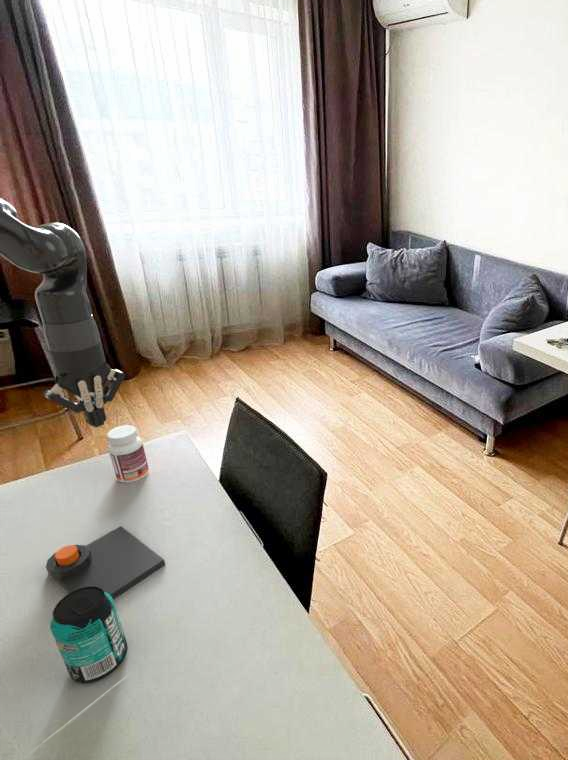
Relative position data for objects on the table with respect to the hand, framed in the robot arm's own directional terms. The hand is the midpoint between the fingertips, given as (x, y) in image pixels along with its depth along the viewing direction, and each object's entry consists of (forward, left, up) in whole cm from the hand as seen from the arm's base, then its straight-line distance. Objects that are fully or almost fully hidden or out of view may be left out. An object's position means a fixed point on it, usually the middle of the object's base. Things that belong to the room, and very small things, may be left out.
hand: (97, 424), depth 94 cm
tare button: (+12, -14, -15) cm, 24 cm away
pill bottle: (-5, +6, -18) cm, 20 cm away
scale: (+17, -10, -18) cm, 27 cm away
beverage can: (+33, -19, -18) cm, 42 cm away
